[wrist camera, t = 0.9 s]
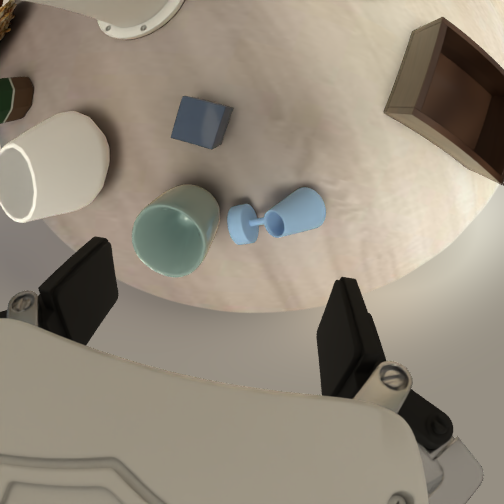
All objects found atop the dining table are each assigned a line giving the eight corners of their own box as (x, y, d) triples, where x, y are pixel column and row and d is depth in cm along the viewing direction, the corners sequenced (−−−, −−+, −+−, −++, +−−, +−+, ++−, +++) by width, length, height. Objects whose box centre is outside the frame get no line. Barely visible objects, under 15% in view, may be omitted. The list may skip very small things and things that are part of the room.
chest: (383, 112, 26) (411, 114, 20) (412, 31, 20) (442, 16, 14) (467, 168, 27) (502, 185, 21) (492, 94, 21) (528, 98, 15)
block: (184, 134, 30) (170, 137, 26) (195, 97, 28) (182, 95, 24) (221, 144, 30) (211, 149, 26) (233, 107, 28) (226, 106, 24)
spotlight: (245, 198, 35) (219, 211, 29) (323, 182, 31) (313, 192, 25) (254, 235, 36) (232, 255, 30) (331, 223, 32) (323, 243, 26)
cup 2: (51, 189, 35) (-11, 225, 22) (59, 105, 28) (-15, 118, 16) (116, 210, 35) (54, 258, 23) (131, 114, 29) (55, 125, 17)
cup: (237, 197, 33) (221, 231, 24) (208, 246, 37) (186, 290, 28) (182, 166, 32) (146, 188, 23) (158, 217, 35) (122, 253, 27)
